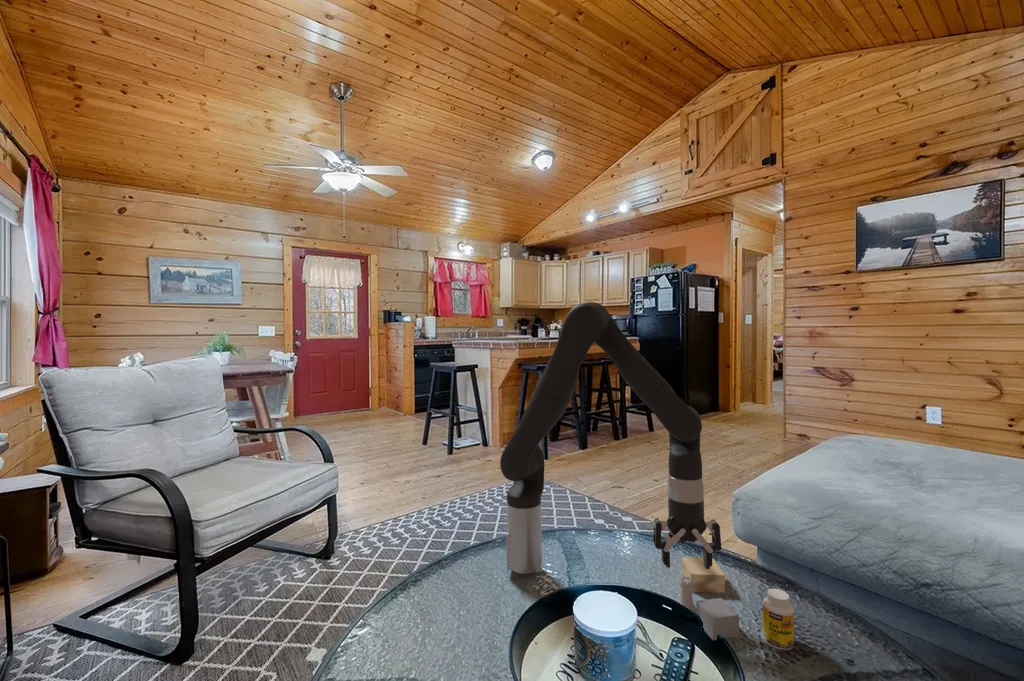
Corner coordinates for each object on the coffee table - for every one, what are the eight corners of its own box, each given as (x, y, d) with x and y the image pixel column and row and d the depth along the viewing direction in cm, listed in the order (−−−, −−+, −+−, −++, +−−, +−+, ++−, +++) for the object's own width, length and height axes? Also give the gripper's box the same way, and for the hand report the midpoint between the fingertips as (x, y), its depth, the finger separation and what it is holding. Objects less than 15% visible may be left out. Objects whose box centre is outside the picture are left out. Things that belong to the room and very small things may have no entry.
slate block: (713, 642, 92) (713, 618, 92) (696, 623, 98) (696, 601, 98) (739, 638, 93) (739, 614, 93) (721, 620, 99) (721, 597, 99)
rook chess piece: (681, 605, 105) (681, 571, 104) (700, 613, 101) (700, 579, 101) (672, 614, 101) (672, 579, 101) (692, 623, 98) (691, 587, 98)
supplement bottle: (764, 648, 90) (764, 598, 90) (760, 631, 95) (760, 583, 95) (797, 655, 88) (797, 604, 88) (791, 637, 93) (791, 589, 93)
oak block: (690, 594, 109) (690, 573, 109) (682, 576, 117) (681, 557, 117) (725, 595, 109) (725, 575, 108) (713, 577, 116) (713, 558, 116)
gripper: (656, 501, 98) (658, 574, 98) (724, 502, 96) (726, 577, 96) (649, 489, 105) (651, 557, 105) (713, 490, 104) (714, 559, 104)
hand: (687, 566), depth 101 cm, fingers open, 8 cm apart
